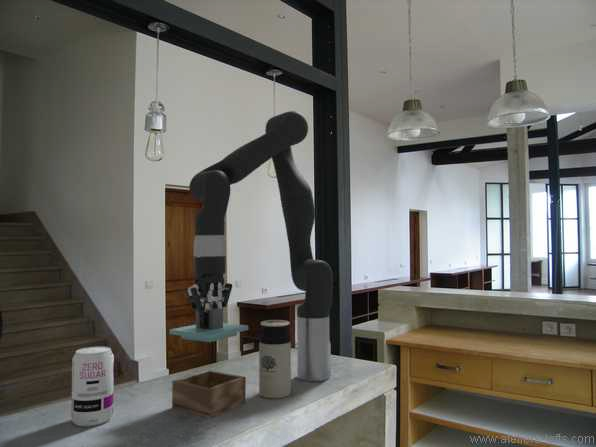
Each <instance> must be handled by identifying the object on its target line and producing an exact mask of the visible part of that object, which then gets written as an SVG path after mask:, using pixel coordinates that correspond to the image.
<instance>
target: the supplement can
mask: <svg viewBox="0 0 596 447" xmlns="http://www.w3.org/2000/svg"><path fill="white" fill-rule="evenodd" d="M114 358H115V355H114V353H113V352H112V348H111V347H109V346H90V347H83V348H79V349H77V350H76V351H75V354H74V355H73V357H72V359H71V361H72V362H71V363H72V365H71V367H72V368H71V407H70V409H71V410H70V411H71V416H70V418H71V419H70V420H71V422H72V423H73V424H74V425H75V426H78V427H93V426H99V425H102V424H104V423H107V422H108V421H109V420H110V419H111V418H112V417H113V415H114V377H115V376H114V375H115V374H114V371H115V370H114V368H115V366H114V364H115V359H114Z"/></svg>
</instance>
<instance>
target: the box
mask: <svg viewBox="0 0 596 447" xmlns="http://www.w3.org/2000/svg"><path fill="white" fill-rule="evenodd" d="M246 379H247V377H246V376H241V375H237V374H232V373H227V372H223V371H217V370H213V369H207V370H204V371H201V372H197V373H195V374H192V375H191V374H190V375H188V376H184V377H182V378H178V379H176V380H172V382H171V383H172V386H171V387H172V388H171V389H172V390H171V391H172V393H171V395H172V396H171V398H172V402H171V405H172V406H171V408H174V409H177V410H180V411H183V412H188V413H191V414H194V415H198V416H201V417H204V418H208V419H210V418H212V417H215V416H218V415H219V414H222V413H225V412H226V411H229V410H231V409H234V408H237V407H238V406H241V405H244V404H246V401H247V399H246V396H247V394H246V390H247V389H246V386H247V384H246Z"/></svg>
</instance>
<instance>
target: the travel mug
mask: <svg viewBox="0 0 596 447" xmlns="http://www.w3.org/2000/svg"><path fill="white" fill-rule="evenodd" d="M259 324H260V327H261V330H260V331H261V332H260V334H259V335H258V338H259V339H258V343H259V344H258V349H259V350H258V351H259V352H258V356H259V357H258V362H259V364H258V365H259V367H258V368H259V369H258V375H259V376H258V378H259V379H258V380H259V381H258V383H259V384H258V388H259V389H258V390H259V391H258V392H259V393H258V394H259V395H260V396H262V397H264V398H267V399H275V400H277V399H283V398H287V397H288V396H290V395H291V393H292V384H291V383H292V356H291V355H292V352H291V350H292V348H291V347H292V342H291V339H292V338H291V337H292V336H291V333H290V331H289V326H290V321H288V320H286V319H285V320H283V319H268V320H263V321H260V323H259Z"/></svg>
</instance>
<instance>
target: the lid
mask: <svg viewBox="0 0 596 447" xmlns="http://www.w3.org/2000/svg"><path fill="white" fill-rule="evenodd" d="M208 313H209V328H208V329H201V328H200V325H199V312H198V311H195V324H193V325H187V326H182V327H176V328H171V329H169V335H175V336H180V339H183V340H190V341H196V342H205V343H213V342H216V341H219V340H224V339H228V338H232V337H237V336H238V333H240V332H245V331H248V330H249V325H247V324H246V325H245V324H235V323H226V322H225V323H224V307H223V308H211V306H209V311H208Z"/></svg>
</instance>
